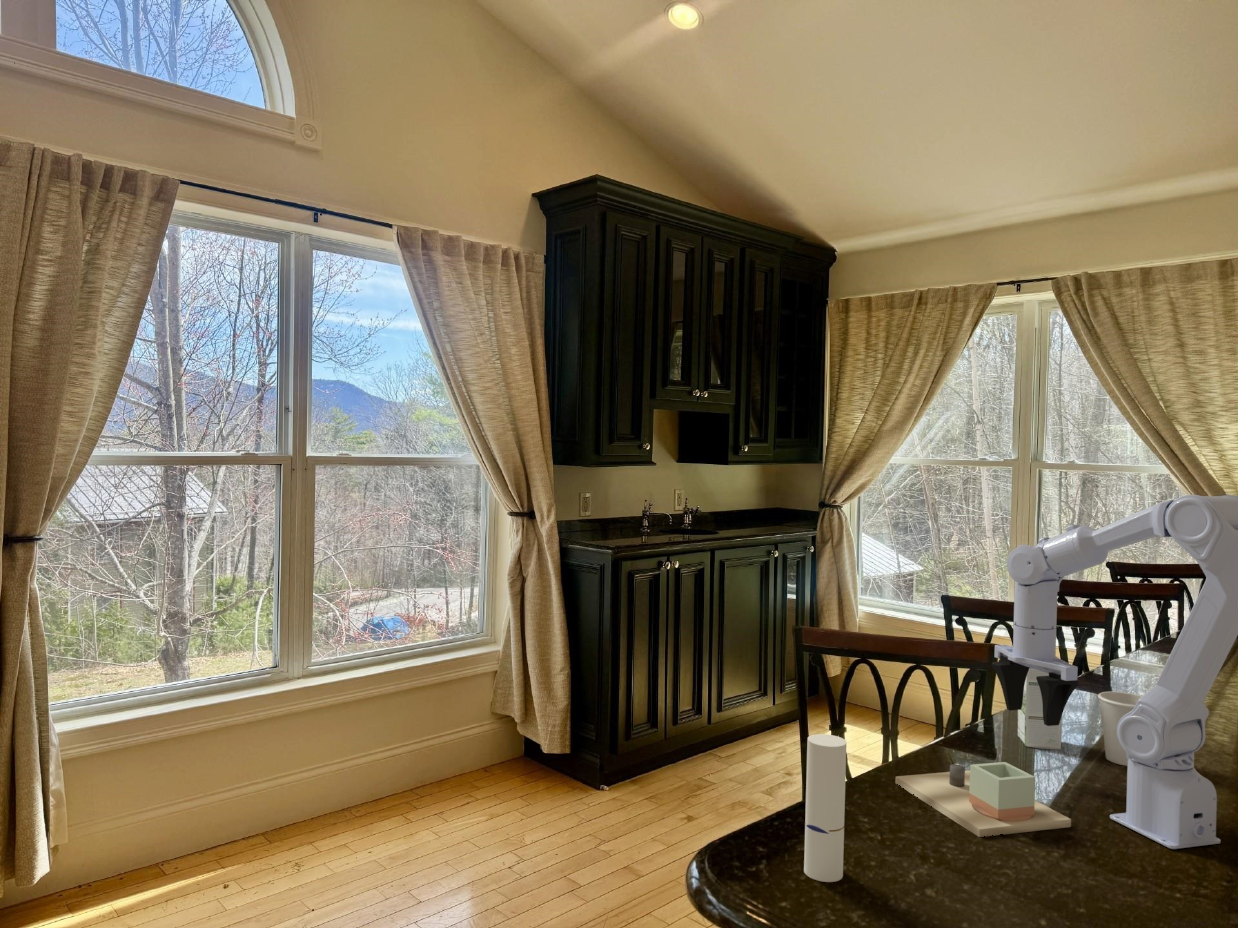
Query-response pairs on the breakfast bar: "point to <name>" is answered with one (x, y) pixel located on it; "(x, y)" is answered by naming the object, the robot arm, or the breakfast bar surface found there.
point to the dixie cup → (1115, 721)
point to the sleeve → (1002, 790)
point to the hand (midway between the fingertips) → (1032, 716)
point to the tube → (825, 807)
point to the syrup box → (1036, 717)
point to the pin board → (953, 801)
